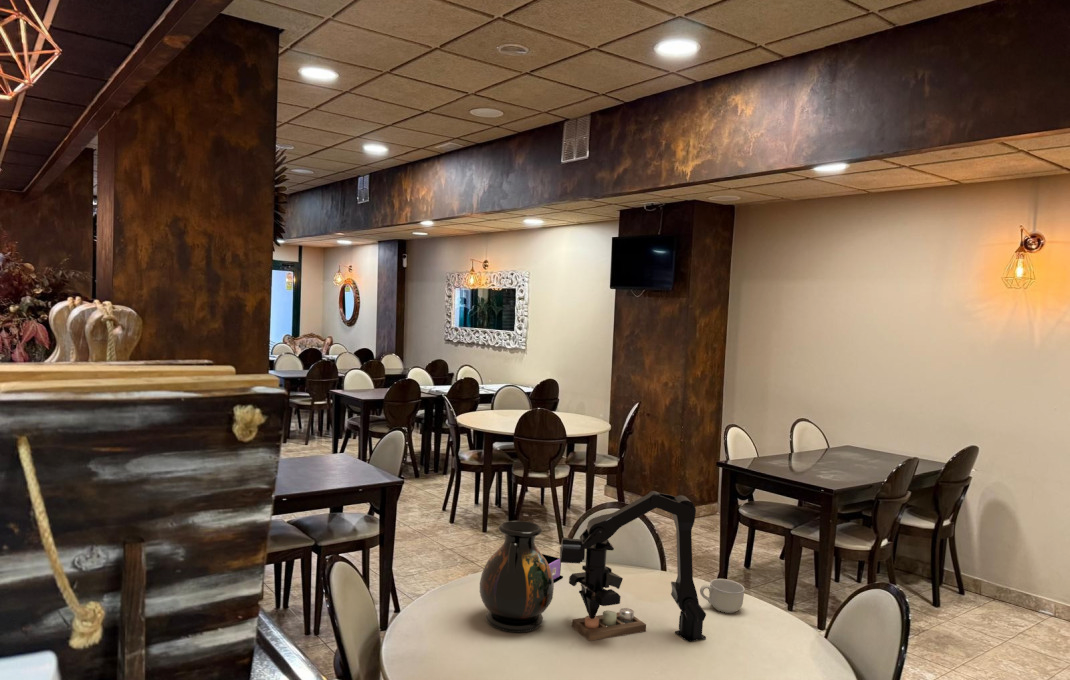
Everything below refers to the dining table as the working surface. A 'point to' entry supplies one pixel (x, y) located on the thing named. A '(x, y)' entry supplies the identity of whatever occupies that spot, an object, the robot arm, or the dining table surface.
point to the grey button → (626, 615)
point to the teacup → (724, 595)
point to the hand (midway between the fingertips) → (592, 618)
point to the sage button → (609, 618)
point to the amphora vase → (517, 580)
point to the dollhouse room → (554, 567)
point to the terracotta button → (591, 622)
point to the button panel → (608, 628)
